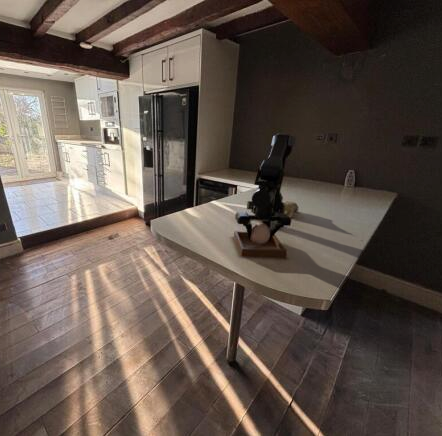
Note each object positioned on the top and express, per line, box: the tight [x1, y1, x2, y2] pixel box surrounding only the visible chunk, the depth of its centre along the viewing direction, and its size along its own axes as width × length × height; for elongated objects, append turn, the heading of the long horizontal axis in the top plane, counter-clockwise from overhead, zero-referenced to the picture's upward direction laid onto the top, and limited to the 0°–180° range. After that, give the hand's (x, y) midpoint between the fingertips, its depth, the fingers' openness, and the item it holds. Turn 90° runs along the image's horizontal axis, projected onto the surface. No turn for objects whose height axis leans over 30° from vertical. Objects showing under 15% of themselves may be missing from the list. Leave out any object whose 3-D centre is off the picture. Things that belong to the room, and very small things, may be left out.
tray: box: [233, 230, 288, 259], centre depth 88 cm, size 16×15×3 cm
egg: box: [251, 222, 270, 244], centre depth 86 cm, size 7×7×8 cm
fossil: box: [279, 200, 299, 219], centre depth 124 cm, size 15×10×10 cm
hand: (258, 239), depth 87 cm, fingers closed on egg, 7 cm apart
